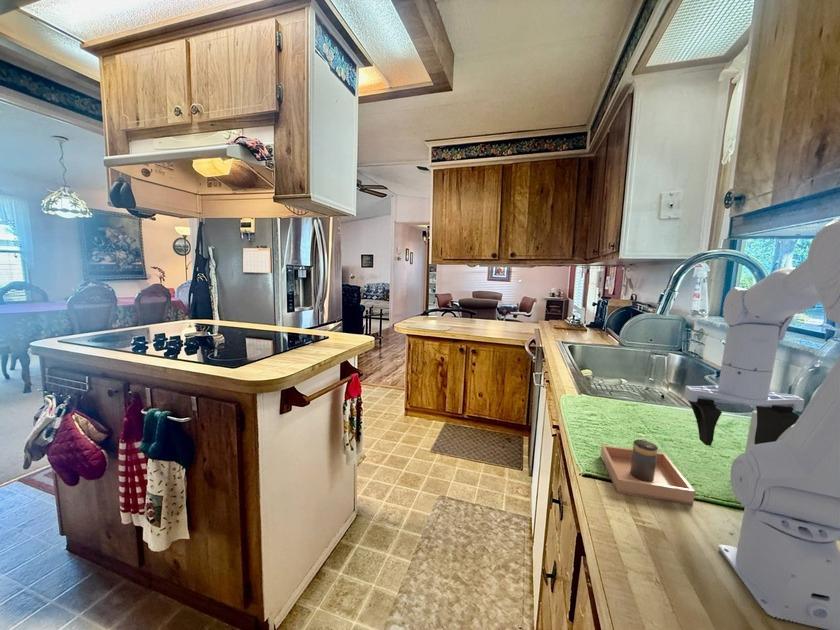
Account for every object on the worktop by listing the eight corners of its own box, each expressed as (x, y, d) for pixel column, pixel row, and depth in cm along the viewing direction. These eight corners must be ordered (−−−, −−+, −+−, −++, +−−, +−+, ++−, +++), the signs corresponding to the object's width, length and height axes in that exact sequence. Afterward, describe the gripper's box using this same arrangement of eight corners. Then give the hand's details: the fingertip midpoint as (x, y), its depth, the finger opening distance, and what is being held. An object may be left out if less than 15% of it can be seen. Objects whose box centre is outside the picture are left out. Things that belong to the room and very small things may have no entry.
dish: (692, 505, 54) (695, 491, 53) (617, 492, 57) (618, 479, 56) (663, 464, 64) (664, 453, 64) (600, 456, 67) (601, 445, 67)
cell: (657, 483, 58) (661, 452, 57) (634, 480, 59) (637, 449, 58) (649, 470, 62) (653, 441, 61) (627, 467, 63) (630, 438, 62)
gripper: (784, 361, 54) (769, 439, 56) (679, 355, 57) (670, 427, 60) (823, 376, 47) (804, 463, 49) (702, 368, 51) (690, 449, 53)
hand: (732, 445), depth 54 cm, fingers open, 7 cm apart
